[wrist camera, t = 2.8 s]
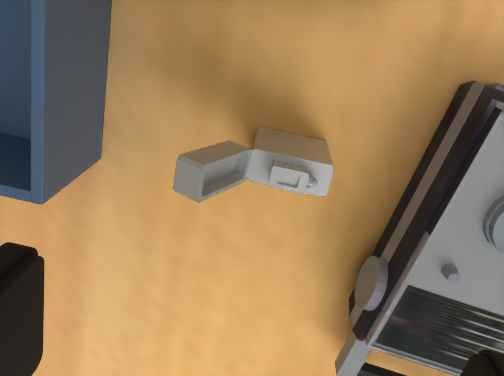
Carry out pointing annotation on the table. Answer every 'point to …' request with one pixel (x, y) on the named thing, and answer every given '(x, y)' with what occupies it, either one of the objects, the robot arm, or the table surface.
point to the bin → (51, 93)
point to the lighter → (256, 165)
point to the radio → (439, 251)
